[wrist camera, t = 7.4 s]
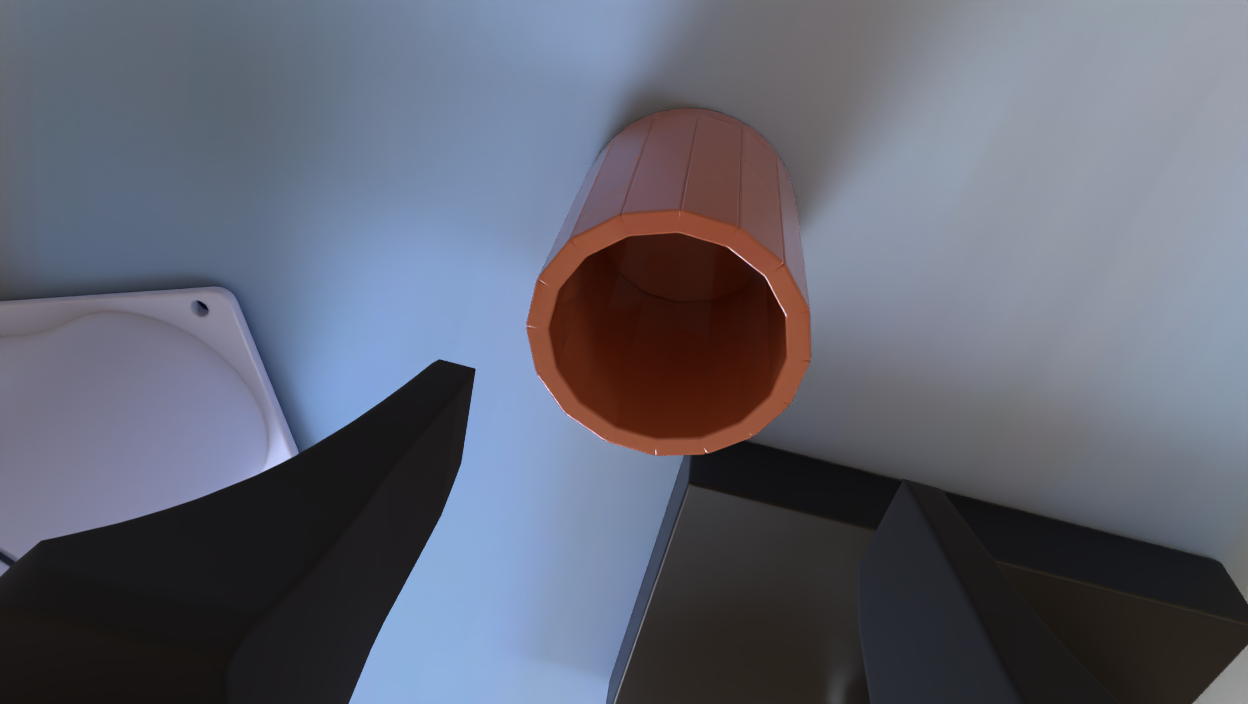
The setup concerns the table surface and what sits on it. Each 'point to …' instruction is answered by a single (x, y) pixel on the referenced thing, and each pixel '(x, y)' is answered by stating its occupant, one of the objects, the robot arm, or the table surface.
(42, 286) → the table surface
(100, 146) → the table surface
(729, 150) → the orange stave barrel
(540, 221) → the table surface
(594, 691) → the table surface
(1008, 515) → the warming plate
